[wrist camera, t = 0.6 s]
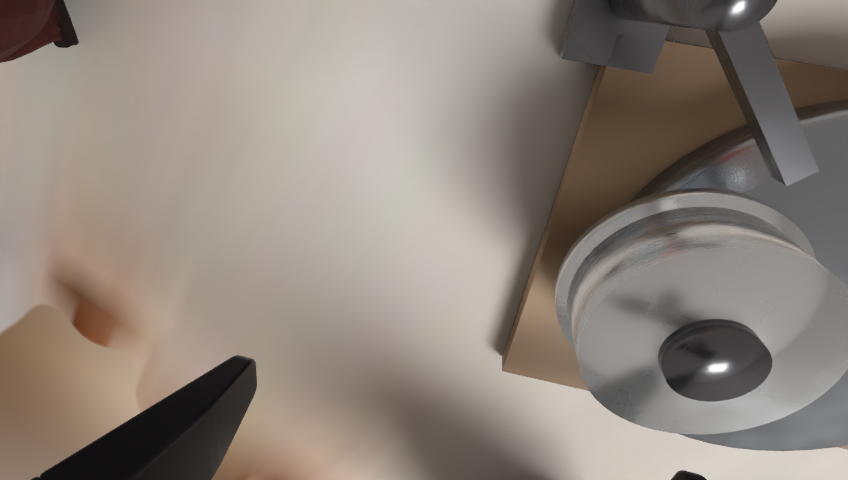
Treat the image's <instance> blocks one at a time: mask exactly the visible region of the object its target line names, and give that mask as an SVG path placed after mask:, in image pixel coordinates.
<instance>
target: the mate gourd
mask: <svg viewBox="0 0 848 480" xmlns="http://www.w3.org/2000/svg"><path fill="white" fill-rule="evenodd" d="M52 42H54V44H55V45H56V46H57V47H62V48H68V47H70V46H72V45H77V44H78V39H77V36H76V33H75V30H74V27H73V25H72V22H71V19H70V17H69V14H68V11H67V9H66V6H65V3H64V0H0V63H1V62H6V61H10V60H15V59H17V58H19V57H21V56H24V55H26V54H28V53H31V52H33V51H35V50H37V49H39V48H41V47H43V46H45V45H47V44H49V43H52Z"/></svg>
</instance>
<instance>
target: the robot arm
mask: <svg viewBox="0 0 848 480" xmlns="http://www.w3.org/2000/svg"><path fill="white" fill-rule="evenodd" d="M256 388H257V376H256V363H255V361H254V359H251V358H247V357H244V356H239V355H237V356H233V357H231V358H230V359H228V360H226V361H225V362H223V363H222V364H220V365H218V366H217V367H215V368H213V369H212V370H210V371H208V372H207V373H205V374H204V375H202V376H200V377H199V378H197V379H195V380H194V381H192V382H190V383H189V384H187V385H186V386H184V387H182V388H181V389H179V390H177V391H176V392H174V393H172V394H171V395H169V396H168V397H166V398H164V399H163V400H161V401H159V402H158V403H156V404H154V405H153V406H151V407H150V408H148V409H146V410H145V411H143V412H141V413H140V414H138V415H136V416H135V417H133V418H131V419H130V420H128V421H127V422H125V423H123V424H122V425H120V426H118V427H117V428H115V429H114V430H112V431H110V432H109V433H107V434H105V435H104V436H102V437H100V438H99V439H97V440H95V441H94V442H92V443H91V444H89V445H87V446H86V447H84V448H82V449H81V450H79V451H78V452H76V453H74V454H73V455H71V456H69V457H68V458H66V459H64V460H63V461H61V462H59V463H58V464H56V465H54V466H53V467H52V468H50V469H48V470H46V471H45V472H43V473H42V474H41V475H40V477H35V478H33V479H32V480H211V479H212V478H213V476H214V474H215V473H216V471H217V469H218V468H219V466H220V464H221V462H222V460H223V458H224V456H225V454H226V452H227V450H228V448H229V446H230V444H231V442H232V440H233V438H234V436H235V434H236V432H237V430H238V428H239V425H240V423H241V421H242V419H243V417H244V415H245V413H246V411H247V409H248V407H249V405H250V403H251V401H252V399H253V397H254V394H255V392H256ZM671 480H706V479H705V478H704V477H703V476H701V475H699V474H695V473H691V472H688V471H683V470H682V471H679V472H677V473H676V474H675V475H674V477H673V478H672V479H671Z"/></svg>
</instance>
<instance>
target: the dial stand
mask: <svg viewBox="0 0 848 480" xmlns="http://www.w3.org/2000/svg"><path fill="white" fill-rule="evenodd" d="M776 2H777V0H574V3H573V7H572V10H571V14H570V17H569V21H568V24H567V28H566V31H565V35H564V39H563V42H562V46H561V49H560V53H559V56H560V57H561V58H562V59H567V60H573V61H579V62H585V63H591V64H597V65H602V66H609V67H614V68H616V66H617V68H620V67H621V68H620V69H627V70H632V71H638V72H644V73H650V74H652V72H653V70H654V67H655V65H656V62H657V60H658V58H657V57H659V55H660V52H661V50H662V47H663V46H662V45H664V42H665V40H666V37H667V35H668V32H669V30H670V27H671V26H679V27H687V28H695V29H703V30H705V31H706V33H707V35H708V37H709V40H710V42H711V44H712V46H713V49H714V51H715V53H716V55H717V57H718V60H719V62H720V64H721V66H722V69H723V71H724V73H725V75H726V77H727V80H728V82H729V84H730V86H731V89H732V91H733V93H734V95H735V97H736V100H737V102H738V104H739V106H740V109H741V111H742V113H743V115H744V117H745V120H746V122H747V124H748V126H749V129H750V131H751V133H752V135H753V137H754V140H755V142H756V144H757V146H758V149H759V151H760V153H761V155H762V157H763V160H764V162H765V164H766V166H767V169H768V171H769V173H770V175H771V177H773V178H774V179H776V180H778V181H779V182H781V183H782V184H784V185H785V186H788V185H790V184H792V183H795V182H797V181H799V180H801V179H803V178H806V177H808V176H810V175H812V174H814V173H817V172H819V169H818V167H817V164H816V162H815V159H814V157H813V154H812V152H811V149H810V147H809V144H808V142H807V139H806V137H805V134H804V132H803V129H802V127H801V124H800V122H799V119H798V117H797V114H796V112H795V110H794V107H793V105H792V102H791V100H790V97H789V95H788V92H787V90H786V87H785V85H784V82H783V80H782V77H781V75H780V72H779V70H778V67H777V65H776V62H775V60H774V57H773V55H772V52H771V50H770V47H769V45H768V42H767V40H766V37H765V35H764V32H763V30H762V28H761V25H760V23H759V21H760V20H761V19H762V18H764V17H765V16H766V15H767V14H768V13H769V11H770V10H771V9H772V8H773V6H774V5H775V4H776ZM618 35H619V36H620V37H619V36H618ZM617 37H618V38H619V39H618V38H617ZM622 37H623V38H622ZM616 39H617V40H616ZM620 39H621V40H620ZM633 39H634V40H633ZM645 39H646V40H645ZM638 40H639V41H638ZM654 40H655V41H654ZM618 41H619V42H618ZM627 41H628V43H627ZM636 41H637V42H636ZM641 41H642V42H641ZM653 41H654V42H653ZM615 42H616V43H615ZM650 44H651V45H650ZM614 45H615V46H614ZM618 45H619V46H618ZM616 46H617V47H616ZM622 46H623V47H622ZM639 46H640V47H639ZM652 46H653V47H652ZM620 48H621V49H620ZM613 49H614V50H613ZM630 51H631V52H630ZM620 52H621V53H620ZM616 53H617V54H616ZM612 54H613V55H612ZM626 54H627V55H626ZM640 54H641V55H640ZM619 55H620V56H619ZM633 55H634V56H633ZM639 55H640V56H639ZM611 56H612V57H611ZM613 56H614V57H613ZM645 56H646V57H645ZM633 57H634V58H633ZM610 58H611V60H610ZM612 58H613V59H612ZM631 58H632V59H633V60H632V59H631ZM649 58H650V59H649ZM629 59H630V60H629ZM615 60H616V61H615ZM654 60H655V61H654ZM608 62H609V63H608ZM621 62H622V63H621ZM653 62H654V63H653ZM625 63H626V64H625ZM607 64H608V65H607ZM635 64H636V65H637V64H638V65H637V66H636V65H635ZM610 65H611V66H610ZM627 67H628V68H627ZM640 68H641V69H640Z"/></svg>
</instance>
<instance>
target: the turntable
mask: <svg viewBox="0 0 848 480" xmlns="http://www.w3.org/2000/svg"><path fill="white" fill-rule="evenodd" d="M794 110H795V112H796V114H797V117H798V119H799V122H800V124H801V127H802V129H803V132H804V134H805V137H806V139H807V142H808V144H809V147H810V149H811V152H812V154H813V157H814V159H815V162H816V164H817V167H818V169H819V172H817V173H814V174H812V175H810V176H808V177H806V178H803V179H801V180H799V181H797V182H795V183H792V184H790V185H788V186H785V185H784V184H782V183H781V182H779V181H778V180H776V179H774V178H773V177H771V175H770V173H769V171H768V169H767V166H766V164H765V162H764V160H763V157H762V155H761V153H760V151H759V149H758V146H757V144H756V142H755V140H754V137H753V135H752V133H751V131H750V129H749V126H748V124H746V125H743V126H741V127H739V128H737V129H735V130H732V131H730V132H728V133H726V134H724V135H721V136H719V137H717V138H715V139H713V140H711V141H709V142H707V143H706V144H704V145H702V146H701V147H699V148H697V149H695V150H694V151H692V152H690V153H689V154H687V155H685V156H683V157H682V158H681V159H679V160H678V161H676V162H675V163H674V164H672V165H671V166H670V167H668V168H667V169H665V170H664V171H663V172H661V173H660V174H659V175H657V176H656V177H655V178H654V179H653V180H652V181H651V182H650V183H648V184H647V185H646V186H645V187H644V188H643V189H642V190H641V191H640V192H638V193H637V194H636V195H635V196H634V198H633V199H632V200H631V201H630V202H632V201H635V200H637V199H640V198H643V197H646V196H649V195H652V194H655V193H660V192H665V191H670V190H676V189H688V188H714V189H722V190H729V191H733V192H737V193H741V194H745V195H748V196H751V197H753V198H756V199H758V200H761V201H763V202H764V203H766V204H768V205H769V206H771V207H773V208H775V209H776V210H777V211H779V212H780V213H781V214H783V215H784V216H785V217H787V218H788V219H789V220H790V221H791V222H793V223H794V224H795V225H796V226H797V227H798V228H799V229H800V230H801V231H802V233H803V234H804V235H805V236H806V237H807V239H808V241H809V243H810V245H811V246H812V248H813V250H814V254H815V257H816V261H817V262H819V263H820V264H821V265H822V266H824V267H825V268H826V269H827V270H829V271H830V272H831V273H832V274H833V275H835V276H836V277H837V278H838V279H839V280H841V281H842V282H843V283H844V284H845V286H846V287H847V288H848V100H845V101H837V102H830V103H822V104H815V105H811V106H806V107H802V108H798V109H794ZM630 202H629V203H630ZM678 434H679V433H678ZM681 435H684V436H686V437H689V438H693V439H696V440H700V441H703V442H707V443H711V444H716V445H722V446H727V447H732V448H742V449H751V450H769V451H793V450H812V449H822V448H831V447H839V446H845V445H848V369H847V371H846V372H845V373H844V374H843V376H842V377H841V378H840V379H839V380H838V382H837V383H835V384H834V385H833V386H832V387H831V388H830V389H829V390H828V391H827V392H826V393H824V394H823V395H822V396H820V397H819V398H817V399H816V400H815V401H813V402H812V403H810V404H808V405H807V406H805V407H803V408H802V409H800V410H798V411H796V412H794V413H792V414H790V415H787V416H785V417H783V418H781V419H778V420H775V421H773V422H770V423H767V424H764V425H760V426H757V427H753V428H749V429H744V430H739V431H734V432H727V433H719V434H681Z"/></svg>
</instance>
